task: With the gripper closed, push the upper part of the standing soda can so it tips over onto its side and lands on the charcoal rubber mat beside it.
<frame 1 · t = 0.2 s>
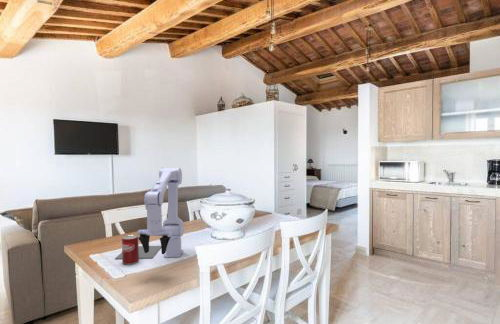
hand: (155, 252, 121), 10 cm above the table, tool pointing down, fingers open, 7 cm apart
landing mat: (139, 252, 151), on the table
soda can: (130, 262, 138), on the table
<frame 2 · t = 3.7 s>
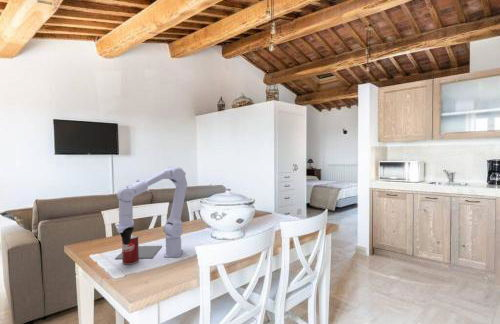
hand: (126, 244, 133), 10 cm above the table, tool pointing down, fingers closed
soda can: (130, 262, 138), on the table, touching gripper
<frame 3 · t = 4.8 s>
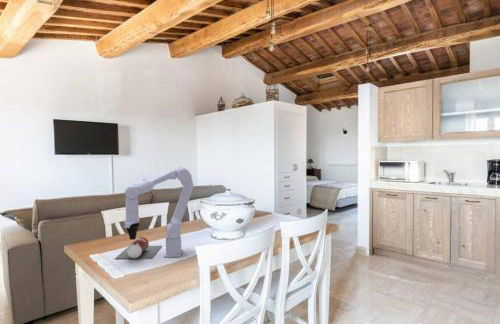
hand: (132, 239, 141), 10 cm above the table, tool pointing down, fingers closed
soda can: (133, 251, 140), point 4 cm above the table, touching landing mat
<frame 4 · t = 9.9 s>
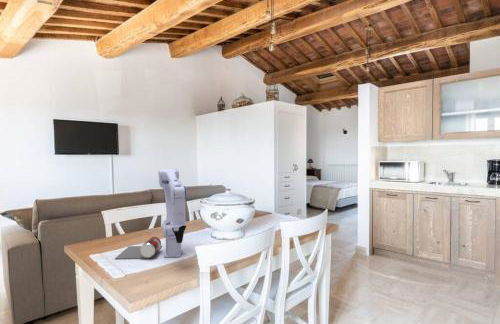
hand: (179, 242, 133), 10 cm above the table, tool pointing down, fingers closed
soda can: (147, 251, 141), point 4 cm above the table, touching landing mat
at the end: soda can tilted 90°; soda can touching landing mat; the gripper is holding nothing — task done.
